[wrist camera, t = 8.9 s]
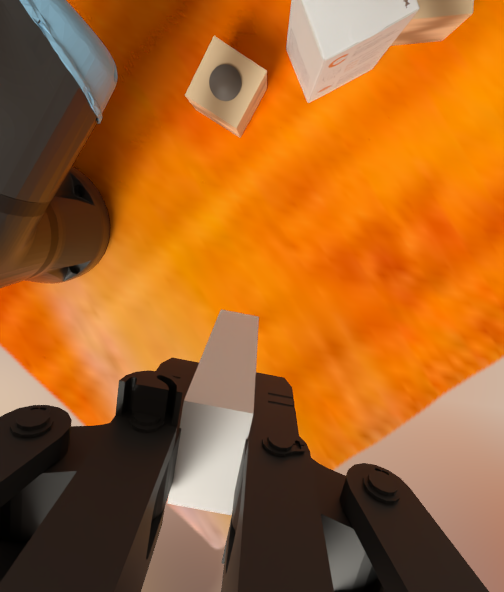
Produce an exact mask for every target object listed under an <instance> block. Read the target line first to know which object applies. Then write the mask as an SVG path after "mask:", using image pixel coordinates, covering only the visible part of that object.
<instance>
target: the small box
mask: <svg viewBox="0 0 504 592" xmlns="http://www.w3.org/2000/svg"><path fill="white" fill-rule="evenodd" d="M419 9H420V7H419V5H418V2H417V0H291V10H290V18H289V26H288V35H287V44H286V50H287V53H288V55H289V58H290V60H291V63H292V65H293V68H294V70H295V73H296V75H297V78H298V80H299V82H300V85H301V87H302V90H303V92H304V95H305V97H306V100H307V102H308V103H310V102H312V101H314V100H316V99H318V98H319V97H321V96H323V95H325V94H327V93H329V92H331V91H333V90H335V89H337V88H338V87H340V86H342V85H344V84H346V83H348V82H350V81H351V80H353V79H355V78H357V77H359V76H361V75H363V74H364V73H366V72H368V71H370V70H371V69H373V67H374V66H375V65H376V64H377V62H378V61H379V60H380V58H381V57H382V56H383V54H384V53H385V52H386V51H387V49H388V48H389V47H390V46H391V44H392V43H393V42H394V41H395V39H396V38H397V37H398V36H399V35H400V33H401V32H402V31H403V29H404V28H405V27H406V26H407V24H408V23H409V22H410V21H411V19H412V18H413V17H414V16H415V14H416V13H417V12H418V10H419Z"/></svg>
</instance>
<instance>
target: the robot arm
mask: <svg viewBox="0 0 504 592" xmlns="http://www.w3.org/2000/svg"><path fill="white" fill-rule="evenodd" d="M117 79H118V74H117V69H116V64H115V62H114V60H113V58H112V56H111V54H110V53H109V51H108V49H107V48H106V47H105V45H104V44H103V43H102V41H101V40H100V39H99V37H98V36H97V35H96V34H95V33H94V31H93V30H92V29H91V28H90V27H89V25H88V24H87V23H86V22H85V21H84V20H83V18H82V17H81V16H80V15H79V14H78V13H77V12H76V11H75V10H74V8H73V7H72V6H71V5H70V4H69V3H68V2H67V1H66V0H0V288H2V287H5V286H8V285H11V284H14V283H17V282H20V281H23V280H25V281H32V282H39V283H60V282H65V281H69V280H71V279H74V278H76V277H79V276H81V275H83V274H85V273H87V272H88V271H90V270H91V269H92V268H93V267H94V266H95V265H96V264H97V263H98V262H99V261H100V259H101V258H102V256H103V254H104V252H105V250H106V248H107V245H108V241H109V235H110V222H109V215H108V211H107V208H106V205H105V202H104V200H103V198H102V196H101V194H100V193H99V191H98V189H97V188H96V187H95V185H94V184H93V183H92V182H91V181H90V180H89V179H88V178H87V177H86V176H85V175H84V174H83V173H81V172H80V171H79V170H77V169H76V168H74V167H72V165H73V163H74V162H75V160H76V158H77V157H78V155H79V153H80V151H81V150H82V148H83V146H84V145H85V143H86V141H87V139H88V138H89V136H90V134H91V132H92V131H93V129H94V127H95V126H96V124H100V122H101V121H102V113H103V111H104V109H105V107H106V105H107V103H108V101H109V99H110V97H111V95H112V93H113V91H114V89H115V87H116V84H117ZM258 322H259V317H257V316H252V315H247V314H242V313H237V312H231V311H226V310H221V311H220V313H219V315H218V318H217V320H216V323H215V325H214V328H213V330H212V333H211V335H210V338H209V340H208V342H207V345H206V347H205V350H204V352H203V355H202V357H201V360H200V362H199V363H197V362H192V361H187V360H182V359H177V358H171V359H169V360H167V361H165V362H163V363H161V364H160V366H159V367H158V369H157V371H140V372H135V373H132V374H129V375H126V376H125V377H123V378H122V379H121V380H119V388H118V397H117V407H116V416H115V417H114V418H113V420H112V421H111V423H108V424H104V425H96V426H74V427H71V418H70V416H69V414H68V413H67V412H66V411H64V410H62V409H60V408H58V407H54V406H49V405H33V406H28V407H23V408H19V409H16V410H14V411H12V412H9V413H7V414H5V415H3V416H1V417H0V592H141V589H142V586H143V583H144V580H145V577H146V574H147V570H148V567H149V564H150V561H151V558H152V555H153V551H154V548H155V545H156V542H157V538H158V536H159V532H160V529H161V526H162V521H163V515H164V508H165V504H166V501H167V498H168V504H173V505H178V506H184V507H189V508H195V509H200V510H205V511H211V512H216V513H222V514H227V515H231V514H232V518H231V523H230V527H229V532H228V536H227V541H226V545H225V550H224V555H223V559H222V563H223V564H224V571H223V581H222V588H221V592H489V591H488V590H487V588H486V587H485V586H484V585H483V583H482V582H481V581H480V579H479V578H478V577H477V575H476V574H475V573H474V571H473V570H472V569H471V568H470V566H469V565H468V564H467V562H466V561H465V560H464V558H463V557H462V556H461V555H460V553H459V552H458V551H457V549H456V548H455V547H454V545H453V544H452V543H451V541H450V540H449V539H448V538H447V536H446V535H445V534H444V532H443V531H442V530H441V528H440V527H439V526H438V524H437V523H436V522H435V520H434V519H433V518H432V516H431V515H430V514H429V513H428V511H427V510H426V509H425V507H424V506H423V505H422V503H421V502H420V501H419V499H418V498H417V497H416V496H415V494H414V493H413V492H412V490H411V489H410V488H409V487H408V486H407V485H406V484H405V483H404V482H403V481H402V480H401V479H400V478H399V477H398V476H396V475H395V474H393V473H392V472H390V471H389V470H386V469H384V468H381V467H379V466H377V465H372V464H366V463H362V464H356V465H354V466H352V467H351V468H350V469H349V470H348V472H347V475H346V476H345V475H342V474H340V473H337V472H335V471H333V470H331V469H328V468H326V467H324V466H322V465H321V464H319V463H317V462H316V461H315V460H313V459H312V458H311V456H310V451H309V449H308V446H307V444H306V443H305V442H304V441H303V440H302V439H301V437H300V436H299V433H298V426H297V419H296V412H295V408H294V406H295V405H294V399H293V392H292V387H291V386H290V384H289V383H288V382H287V381H286V379H285V378H282V377H277V376H272V375H267V374H262V373H256V358H257V340H258ZM168 495H169V497H168ZM232 509H233V510H232Z"/></svg>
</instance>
